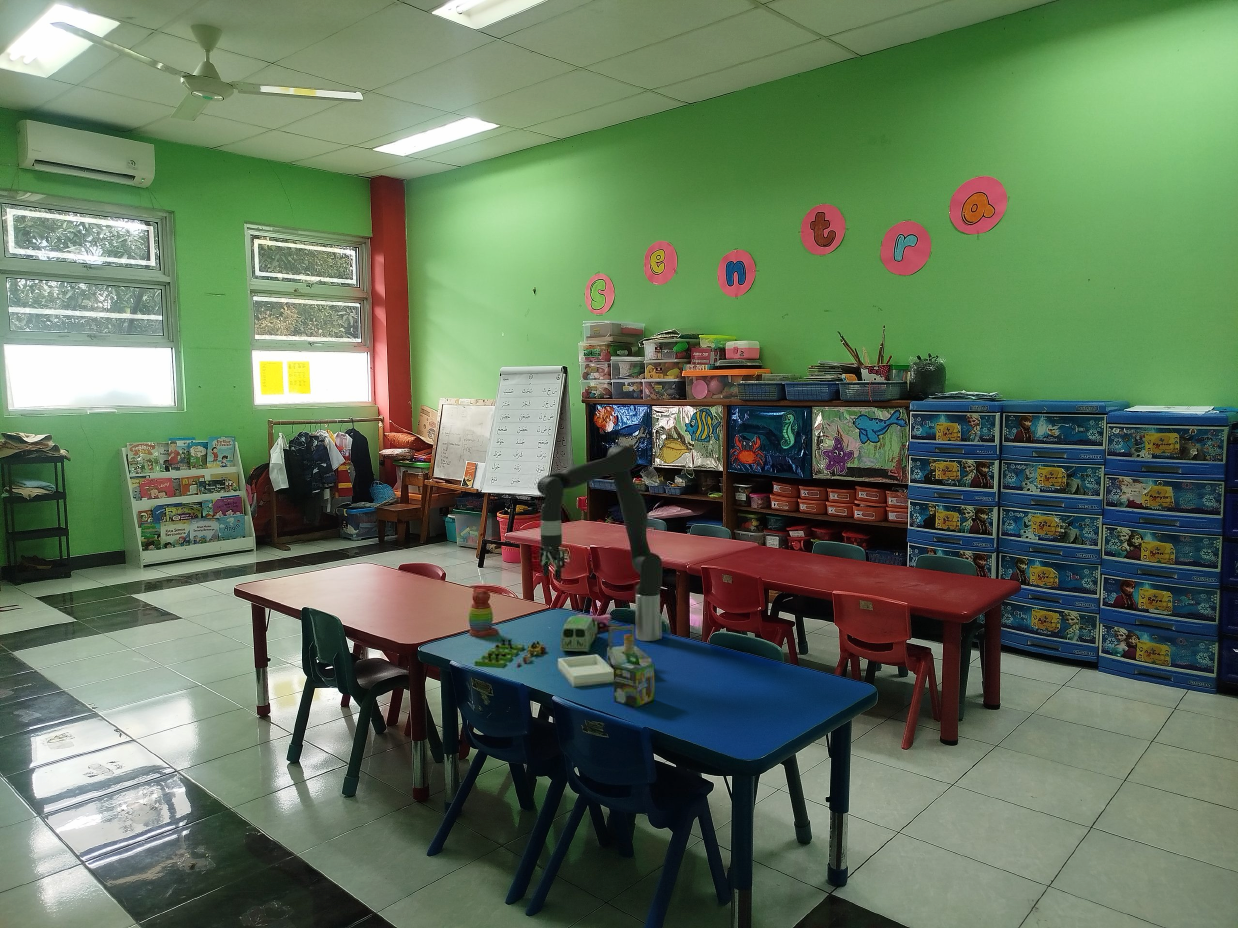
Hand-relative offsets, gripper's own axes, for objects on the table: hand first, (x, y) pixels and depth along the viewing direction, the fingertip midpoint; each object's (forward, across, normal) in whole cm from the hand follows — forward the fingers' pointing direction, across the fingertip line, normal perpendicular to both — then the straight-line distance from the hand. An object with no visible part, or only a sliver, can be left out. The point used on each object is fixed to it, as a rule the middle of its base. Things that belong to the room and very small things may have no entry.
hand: (552, 577), depth 296 cm
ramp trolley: (+28, -31, -11) cm, 43 cm away
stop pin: (+28, -31, -11) cm, 43 cm away
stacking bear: (+28, +38, +10) cm, 48 cm away
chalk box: (+28, -55, +4) cm, 62 cm away
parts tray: (+28, -27, +3) cm, 39 cm away
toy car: (+28, +4, -13) cm, 31 cm away
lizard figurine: (+29, +20, -30) cm, 46 cm away
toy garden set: (+28, +4, +14) cm, 32 cm away
